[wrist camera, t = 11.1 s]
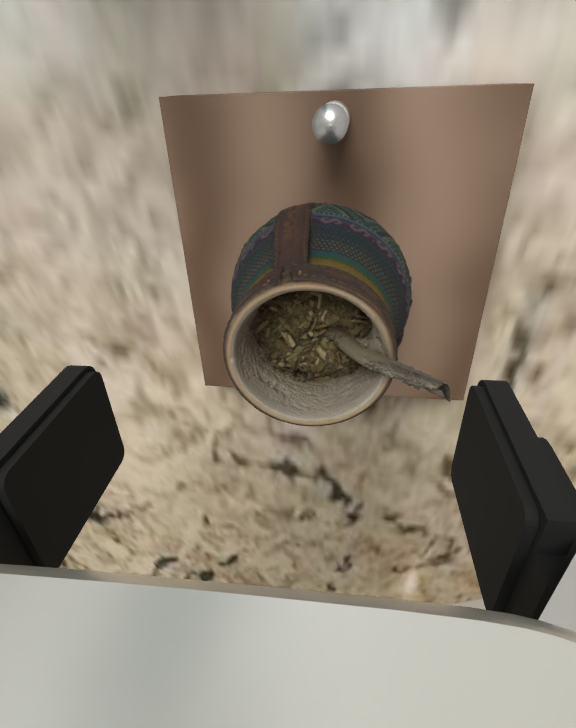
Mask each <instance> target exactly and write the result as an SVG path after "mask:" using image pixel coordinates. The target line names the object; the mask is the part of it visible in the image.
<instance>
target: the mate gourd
mask: <svg viewBox="0 0 576 728" xmlns="http://www.w3.org/2000/svg"><path fill="white" fill-rule="evenodd" d="M323 203H324V202H323ZM243 245H244V247H243V249H242V250H241V254H240V256H239V258H238V261H237V263H236V265H235V269H234V274H233V278H232V283H231V310H232V314H231V319H230V320H229V321H228V323H227V327H226V329H225V333H224V336H223V340H224V342H223V356H224V363H225V366H226V370H227V372H228V375H229V377H230V379H231V381H232V383H233V384H234V386H235V387H236V389H237V390H238V391H239V393H240V394H241V395H242V396H243V397H244V398H245V399H246V400H247V401H248V402H249V403H250V404H251V405H253V406H254V407H255V408H256V409H258V410H259V411H261V412H262V413H264V414H266V415H268V416H270V417H272V418H274V419H277V420H280V421H283V422H287V423H291V424H295V425H302V426H324V425H331V424H336V423H340V422H343V421H346V420H349V419H351V418H353V417H355V416H357V415H359V414H361V413H362V412H364V411H366V410H367V409H369V408H370V407H371V406H373V405H374V404H375V403H376V402H377V401H378V400H379V399H380V398H381V397H382V396H383V394H384V393H385V392H386V390H387V389H388V388H389V386H390V384H391V382H392V379H393V378H395V379H396V378H397V379H398V380H401V382H402V383H404V384H407V385H408V386H412V385H413V386H414V388H415V389H418V390H419V389H420V388H424V389H426V390H428V391H429V392H430V393H433V394H436V395H438V396H440V397H442V398H444V399H446V400H448V401H449V402H450V401H451V398H452V396H451V387H450V385H449V384H448V383H447V382H444V381H441V380H439V379H435V378H433V377H430V376H431V375H427V374H425V373H422V371H419V370H415V369H414V367H412V366H407V365H404V364H402V363H400V362H398V361H397V360H398V356H397V355H398V354H397V353H398V346H400V344H401V342H402V339H403V336H404V334H403V333H404V328H405V326H406V323H407V320H408V316H409V312H410V307H411V305H412V301H413V300H412V299H411V298H412V295H411V294H412V292H411V282H412V279H411V276H410V274H409V269H408V267H407V264H406V260H405V258H404V256H403V254H402V251H401V250H400V246H399V245H398V244H397V243H396V242H395V240H394V239H393V237H391V236H390V234H389V233H388V232H387V231H386V230H385V229H384V228H383V227H382V226H381V225H380V224H378V223H377V222H376V220H374V219H372V218H371V217H368V216H366V215H364V213H361V212H358V211H357V210H354V209H351V208H350V207H349V208H348V207H345V206H338V205H334V204H326V202H325V204H322V203H318V204H317V203H314V202H313V203H310V202H308V203H306V204H301V205H294V206H291V207H288V208H286V209H283V210H281V211H280V212H279V214H278V215H276V216H275V217H273V218H271V219H270V220H269V221H268V222H267V223H266V224H265V225H263V226H262V227H260V228H259V229H258V230H257V231H256V232H255V233H254V234H253V235H252V236H251V237H250V238H249V240H248V241H247V242H246V243H245V244H243Z"/></svg>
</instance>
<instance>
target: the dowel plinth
mask: <svg viewBox="0 0 576 728" xmlns="http://www.w3.org/2000/svg"><path fill="white" fill-rule="evenodd" d="M533 87H534V84H517V83H513V84H486V85H458V86H430V87H403V88H375V89H347V90H320V91H292V92H264V93H237V94H209V95H181V96H167V97H159V101H160V107H161V113H162V119H163V125H164V132H165V138H166V144H167V150H168V156H169V163H170V169H171V175H172V181H173V187H174V194H175V200H176V206H177V212H178V218H179V225H180V231H181V237H182V243H183V249H184V255H185V262H186V268H187V274H188V280H189V286H190V293H191V299H192V305H193V311H194V317H195V324H196V330H197V336H198V342H199V348H200V355H201V361H202V367H203V373H204V379H205V385H209V386H226V387H235V386H234V384H233V383H232V381H231V379H230V377H229V375H228V372H227V370H226V366H225V363H224V356H223V342H224V340H223V336H224V333H225V329H226V327H227V323H228V321H229V320H230V319H231V314H232V310H231V283H232V278H233V274H234V269H235V265H236V263H237V261H238V258H239V256H240V254H241V250H242V249H243V247H244V245H243V244H245V243H246V242H247V241H248V240H249V238H250V237H251V236H252V235H253V234H254V233H255V232H256V231H257V230H258V229H259V228H260V227H262V226H263V225H265V224H266V223H267V222H268V221H269V220H270V219H271V218H273V217H275V216H276V215H278V214H279V212H280V211H281V210H283V209H286V208H288V207H291V206H294V205H301V204H306V203H308V202H310V203H313V202H314V203H317V204H318V203H322V204H325V202H326V204H334V205H338V206H345V207H348V208H349V207H350V208H351V209H354V210H357V211H358V212H361V213H364V215H366V216H368V217H371V218H372V219H374V220H376V222H377V223H378V224H380V225H381V226H382V227H383V228H384V229H385V230H386V231H387V232H388V233H389V234H390V236H391V237H393V239H394V240H395V242H396V243H397V244H398V245H399V246H400V250H401V251H402V254H403V256H404V258H405V260H406V264H407V267H408V269H409V274H410V276H411V279H412V282H411V292H412V294H411V295H412V298H411V299H412V300H413V301H412V305H411V307H410V312H409V316H408V320H407V323H406V326H405V328H404V333H403V334H404V336H403V339H402V342H401V344H400V346H398V353H397V354H398V355H397V356H398V360H397V361H398V362H400V363H402V364H404V365H407V366H412V367H414V369H415V370H419V371H422V373H425V374H427V375H431V376H430V377H433V378H435V379H439V380H441V381H444V382H447V383H448V384H449V385H450V387H451V396H452V398H451V400H463V399H464V394H465V390H466V385H467V381H468V376H469V372H470V367H471V363H472V359H473V354H474V350H475V345H476V341H477V336H478V332H479V327H480V323H481V318H482V314H483V309H484V305H485V301H486V296H487V292H488V287H489V283H490V278H491V274H492V269H493V265H494V260H495V256H496V252H497V247H498V243H499V238H500V234H501V229H502V225H503V220H504V216H505V211H506V207H507V202H508V198H509V194H510V189H511V185H512V180H513V176H514V171H515V167H516V162H517V158H518V153H519V149H520V145H521V140H522V136H523V131H524V127H525V122H526V118H527V113H528V109H529V104H530V100H531V95H532V91H533ZM323 202H324V203H323ZM383 396H397V397H414V398H431V399H444V398H442V397H440V396H438V395H436V394H433V393H430V392H429V391H428V390H426V389H424V388H420V389H419V390H418V389H415V388H414V386H413V385H412V386H408V385H407V384H404V383H402V382H401V380H398V379H397V378H396V379H395V378H393V379H392V382H391V384H390V386H389V388H388V389H387V390H386V392H385V393H384V394H383Z"/></svg>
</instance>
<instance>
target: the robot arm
mask: <svg viewBox="0 0 576 728" xmlns="http://www.w3.org/2000/svg"><path fill="white" fill-rule="evenodd" d="M123 457H124V446H123V443H122V440H121V437H120V433H119V430H118V427H117V424H116V421H115V417H114V414H113V411H112V408H111V404H110V401H109V398H108V395H107V392H106V388H105V385H104V382H103V379H102V376H101V374H100V373H99V372H96V371H95V369H94V368H93V367H91V366H72V365H71V366H67V367H66V368H65V369H64V370H63V371H62V372H61V373H60V374H59V375H58V376H57V377H56V378H55V379H54V380H53V381H52V382H51V383H50V384H49V385H48V386H47V387H46V388H45V389H44V390H43V391H42V392H41V393H40V394H39V395H38V396H37V397H36V398H35V399H34V400H33V401H32V402H31V403H30V404H29V405H28V406H27V407H26V408H25V409H24V410H23V411H22V412H21V413H20V414H19V415H18V416H17V417H16V418H15V419H14V420H13V421H12V422H11V423H10V424H9V425H8V426H7V427H6V428H5V429H4V430H3V431H2V432H1V433H0V728H576V490H575V488H574V486H573V484H572V482H571V481H570V479H569V477H568V475H567V474H566V472H565V470H564V468H563V466H562V465H561V463H560V461H559V459H558V458H557V456H556V454H555V452H554V450H553V449H552V447H551V445H550V444H549V442H548V441H547V440H546V439H544V438H539V437H537V435H536V433H535V431H534V430H533V428H532V426H531V424H530V422H529V420H528V418H527V417H526V415H525V413H524V411H523V409H522V407H521V405H520V404H519V402H518V400H517V398H516V396H515V394H514V392H513V391H512V389H511V387H510V385H509V383H508V382H507V381H495V380H481V381H479V383H478V386H471V387H470V390H469V393H468V398H467V402H466V406H465V411H464V415H463V419H462V424H461V428H460V432H459V437H458V441H457V445H456V450H455V454H454V458H453V463H452V468H451V477H452V483H453V487H454V491H455V494H456V498H457V502H458V506H459V510H460V513H461V517H462V521H463V525H464V529H465V532H466V536H467V540H468V544H469V548H470V551H471V555H472V559H473V563H474V567H475V570H476V574H477V578H478V582H479V586H480V589H481V593H482V597H483V601H484V605H485V608H486V610H483V609H476V608H471V607H462V606H453V605H444V604H435V603H427V602H418V601H409V600H400V599H391V598H381V597H370V596H360V595H349V594H339V593H329V592H318V591H308V590H297V589H287V588H277V587H266V586H255V585H244V584H233V583H222V582H211V581H200V580H189V579H178V578H167V577H155V576H144V575H133V574H121V573H109V572H97V571H86V570H74V569H62V568H59V566H60V565H61V563H62V561H63V560H64V558H65V556H66V555H67V553H68V551H69V550H70V548H71V546H72V545H73V543H74V541H75V540H76V538H77V536H78V535H79V533H80V531H81V530H82V528H83V526H84V524H85V523H86V521H87V519H88V518H89V516H90V514H91V513H92V511H93V509H94V508H95V506H96V504H97V503H98V501H99V499H100V498H101V496H102V494H103V493H104V491H105V489H106V487H107V486H108V484H109V482H110V481H111V479H112V477H113V476H114V474H115V472H116V471H117V469H118V467H119V466H120V464H121V462H122V460H123Z"/></svg>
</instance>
